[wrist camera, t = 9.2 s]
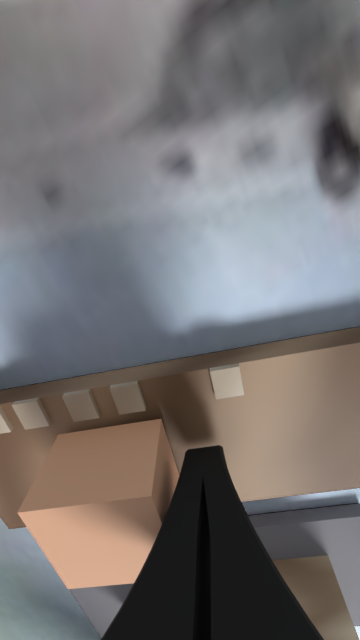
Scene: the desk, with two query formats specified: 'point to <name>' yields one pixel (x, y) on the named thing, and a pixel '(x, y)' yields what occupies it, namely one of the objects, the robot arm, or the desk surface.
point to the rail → (208, 415)
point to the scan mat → (281, 543)
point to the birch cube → (319, 595)
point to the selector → (102, 502)
